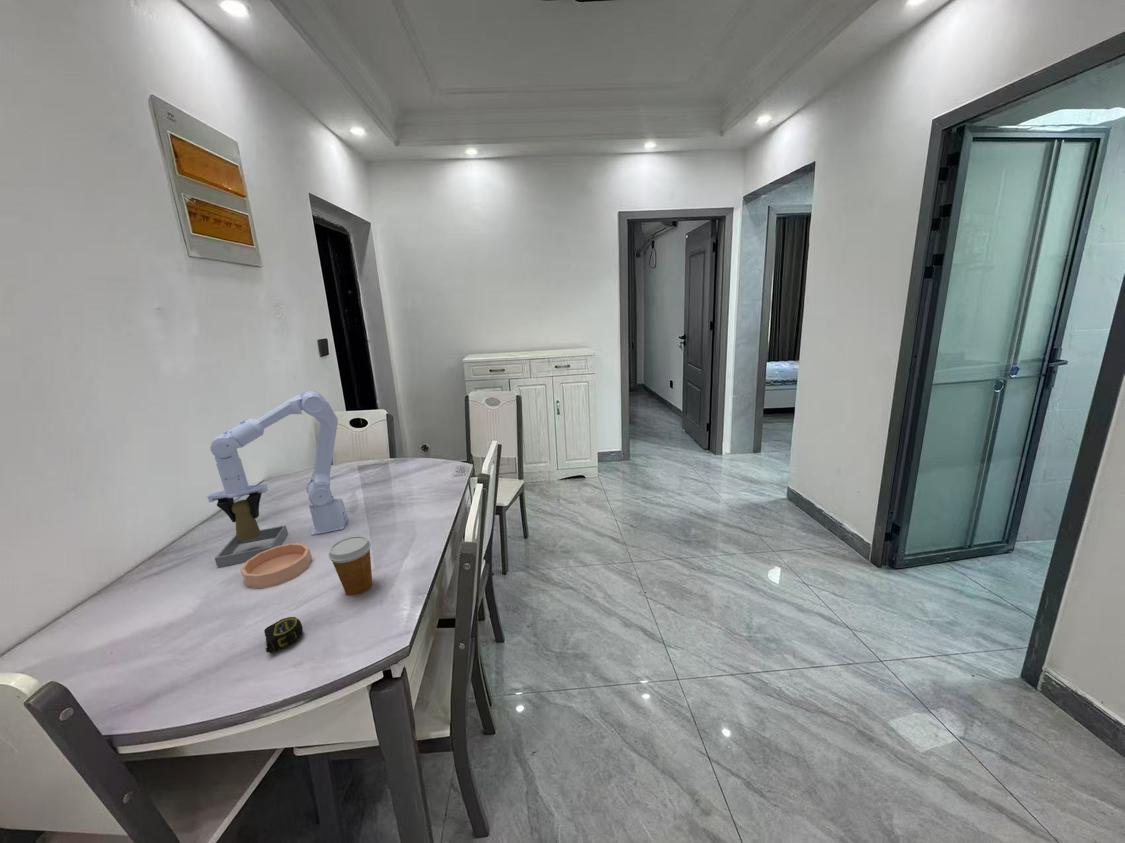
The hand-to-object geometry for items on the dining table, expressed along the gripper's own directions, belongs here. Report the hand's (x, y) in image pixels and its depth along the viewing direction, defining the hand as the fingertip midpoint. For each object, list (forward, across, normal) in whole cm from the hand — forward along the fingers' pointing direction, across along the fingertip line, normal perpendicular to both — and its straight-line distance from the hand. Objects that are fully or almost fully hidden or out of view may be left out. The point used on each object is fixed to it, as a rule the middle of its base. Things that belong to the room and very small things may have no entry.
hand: (246, 518), depth 134 cm
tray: (+10, 0, 0) cm, 10 cm away
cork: (+6, -1, 0) cm, 6 cm away
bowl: (+10, +11, -16) cm, 22 cm away
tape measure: (+11, +21, -49) cm, 54 cm away
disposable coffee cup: (+10, +34, -34) cm, 49 cm away
